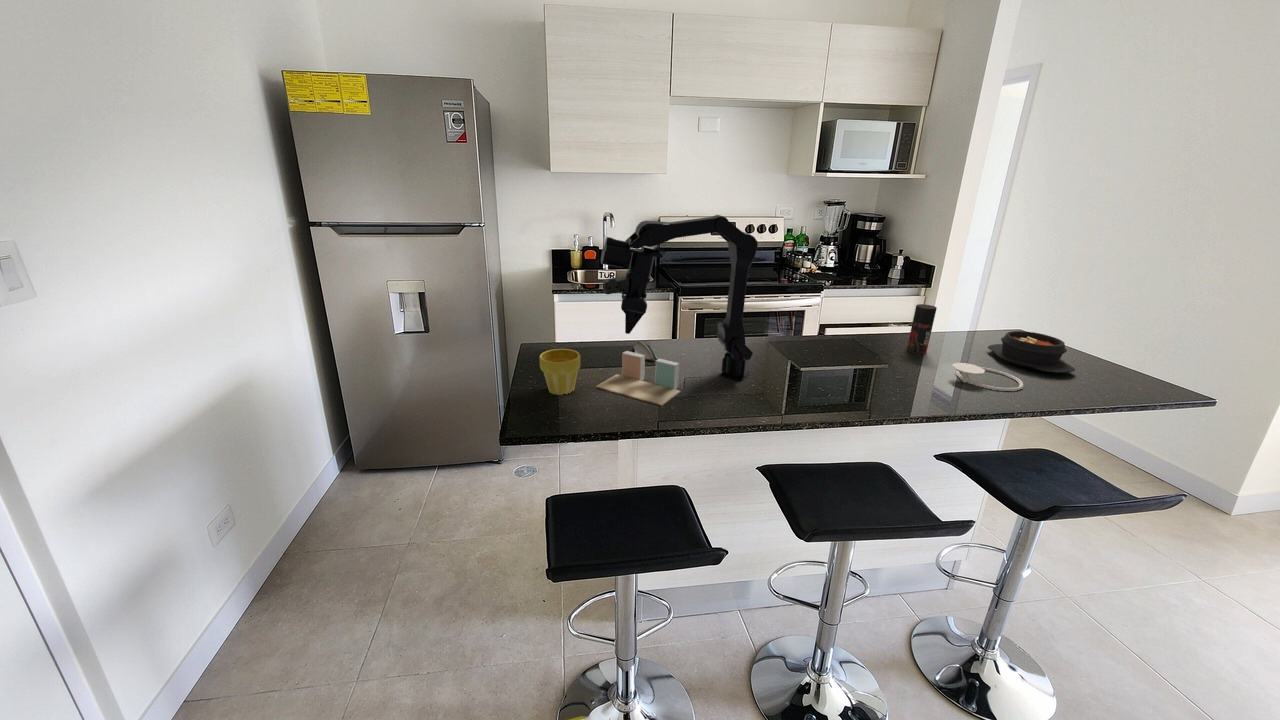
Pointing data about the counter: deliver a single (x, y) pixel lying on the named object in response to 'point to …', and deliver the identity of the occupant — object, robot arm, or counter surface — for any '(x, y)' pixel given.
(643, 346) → the ceramic fragment
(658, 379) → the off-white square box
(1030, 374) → the counter surface
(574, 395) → the counter surface
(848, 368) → the counter surface
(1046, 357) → the casserole
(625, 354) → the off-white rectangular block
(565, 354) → the plant pot
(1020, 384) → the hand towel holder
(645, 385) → the cork mat
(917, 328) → the deodorant
